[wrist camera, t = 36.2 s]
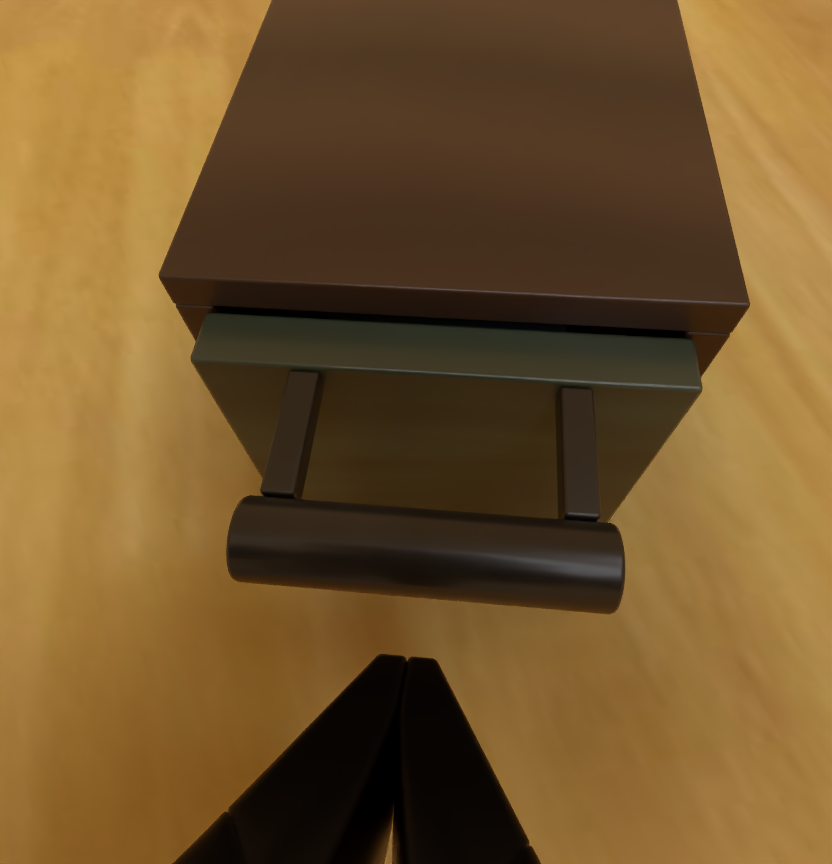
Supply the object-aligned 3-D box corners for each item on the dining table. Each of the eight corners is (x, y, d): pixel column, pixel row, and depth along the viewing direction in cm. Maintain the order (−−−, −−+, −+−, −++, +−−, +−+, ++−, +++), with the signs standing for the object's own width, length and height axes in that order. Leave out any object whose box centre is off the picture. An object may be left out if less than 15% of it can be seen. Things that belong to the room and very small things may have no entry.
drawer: (616, 677, 14) (755, 613, 8) (242, 641, 15) (106, 557, 9) (585, 214, 22) (643, 3, 16) (341, 204, 23) (306, -2, 17)
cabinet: (616, 500, 18) (752, 305, 10) (270, 474, 18) (156, 276, 11) (592, 194, 24) (663, -62, 17) (338, 184, 25) (297, -64, 17)
